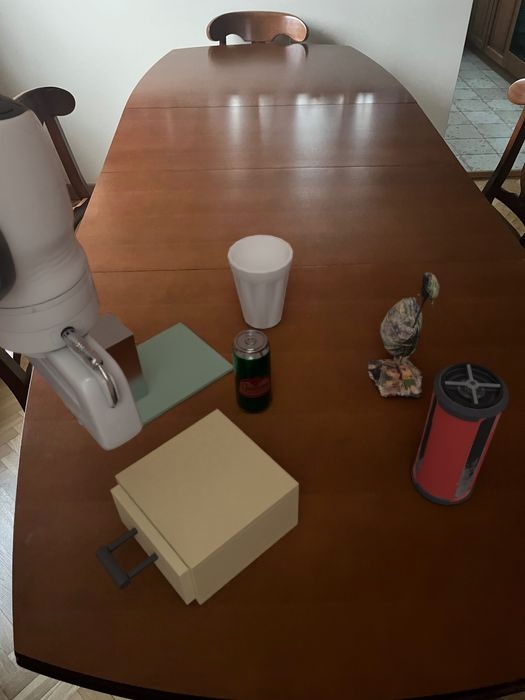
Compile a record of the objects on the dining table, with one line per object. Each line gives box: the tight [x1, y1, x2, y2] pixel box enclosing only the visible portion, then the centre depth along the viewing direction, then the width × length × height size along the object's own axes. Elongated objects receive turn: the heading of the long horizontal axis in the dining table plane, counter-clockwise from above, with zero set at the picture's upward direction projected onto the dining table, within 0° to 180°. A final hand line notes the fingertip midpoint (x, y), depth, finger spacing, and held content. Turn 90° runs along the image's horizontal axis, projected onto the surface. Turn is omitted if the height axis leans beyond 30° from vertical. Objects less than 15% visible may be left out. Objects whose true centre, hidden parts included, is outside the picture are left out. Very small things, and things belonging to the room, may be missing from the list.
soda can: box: [231, 329, 273, 414], centre depth 81 cm, size 5×5×12 cm
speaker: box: [410, 362, 510, 506], centre depth 68 cm, size 8×8×18 cm
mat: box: [136, 321, 234, 428], centre depth 89 cm, size 20×14×1 cm
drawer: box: [94, 483, 196, 606], centre depth 66 cm, size 18×13×7 cm
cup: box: [227, 234, 294, 330], centre depth 93 cm, size 10×10×13 cm
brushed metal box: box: [88, 312, 148, 402], centre depth 82 cm, size 5×6×12 cm
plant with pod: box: [367, 271, 440, 399], centre depth 81 cm, size 8×11×20 cm
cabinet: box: [114, 408, 300, 606], centre depth 68 cm, size 15×15×9 cm
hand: (82, 413), depth 57 cm, fingers closed
